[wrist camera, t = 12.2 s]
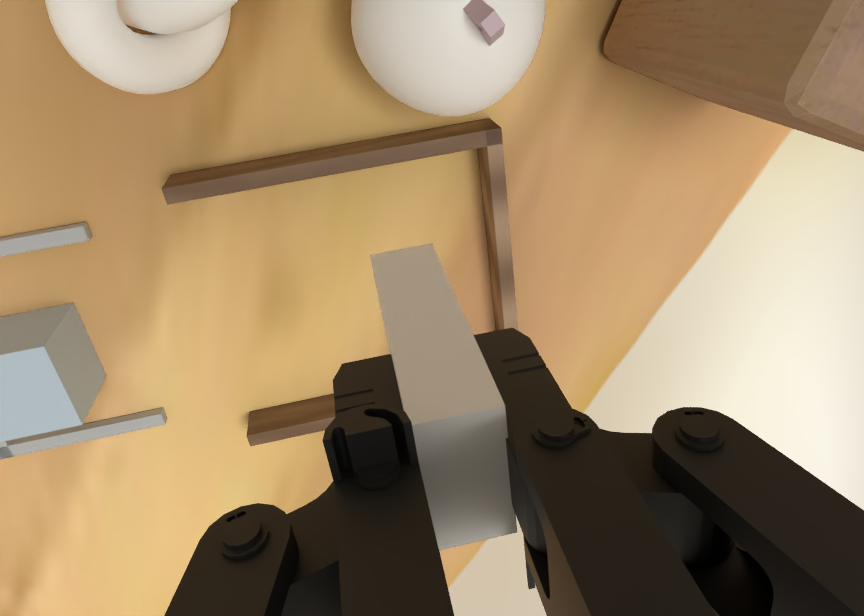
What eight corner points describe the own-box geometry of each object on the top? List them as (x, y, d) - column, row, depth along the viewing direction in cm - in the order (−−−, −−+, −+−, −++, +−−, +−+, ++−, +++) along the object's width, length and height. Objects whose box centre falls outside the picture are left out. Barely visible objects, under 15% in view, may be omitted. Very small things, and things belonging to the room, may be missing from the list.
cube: (-18, 319, 44) (-61, 367, 39) (74, 302, 45) (43, 346, 39) (21, 391, 47) (-15, 445, 42) (106, 374, 47) (82, 424, 42)
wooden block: (713, 103, 46) (965, 186, 28) (592, 54, 43) (790, 112, 25) (791, -49, 42) (1137, -62, 25) (663, -114, 39) (954, -182, 22)
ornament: (542, -29, 40) (626, -29, 30) (463, 124, 44) (514, 173, 33) (392, -124, 37) (428, -162, 26) (319, 51, 40) (325, 80, 30)
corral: (-109, 257, 41) (-117, 262, 40) (86, 221, 42) (82, 225, 42) (3, 452, 49) (-1, 459, 48) (167, 418, 50) (165, 424, 49)
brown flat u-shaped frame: (170, 174, 42) (161, 188, 39) (489, 118, 44) (501, 127, 41) (253, 421, 51) (250, 446, 49) (511, 366, 53) (522, 387, 51)
